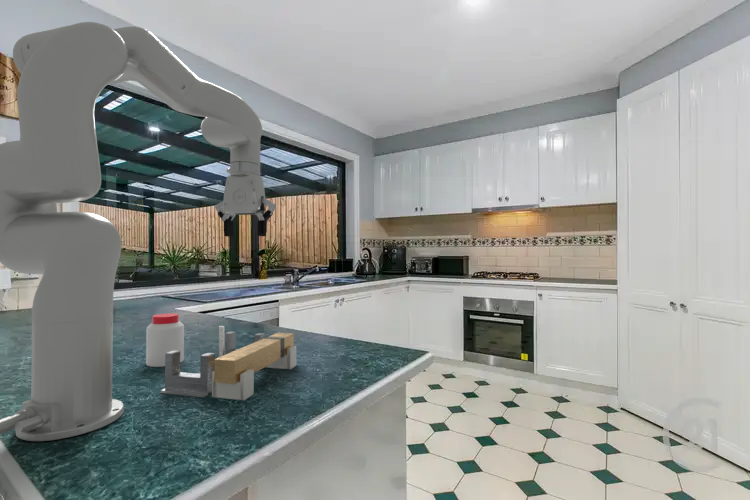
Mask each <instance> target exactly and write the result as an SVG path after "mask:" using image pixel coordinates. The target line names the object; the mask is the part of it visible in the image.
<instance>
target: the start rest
mask: <svg viewBox="0 0 750 500" xmlns="http://www.w3.org/2000/svg"><path fill="white" fill-rule="evenodd" d="M296 366H297V346H296V345H294V346H292V347H290V348H288V349H287V355H285V356H284V357H282V358H280V359H278V360H277V361H275V362H273V363H271V364H270V365H268V366H266V367H265V368H269V369H270V368H271V369H279V370H280V369H281V370H282V369H283V370H292V369H293V368H295V367H296ZM254 375H255V373H254V370H252V369H249V370H248V371H246V372H244V373H242V374H240V382H238V383H236V384H226V383H215V382H214V371H213V372H212V393H211V397H212V398H219V399H228V400H238V401H246V400H247V399H249V398H250V397H251V396H253V395H254V394H255V392H254V389H255V387H254V386H255V385H254V381H255V379H254V378H255V376H254Z"/></svg>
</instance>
